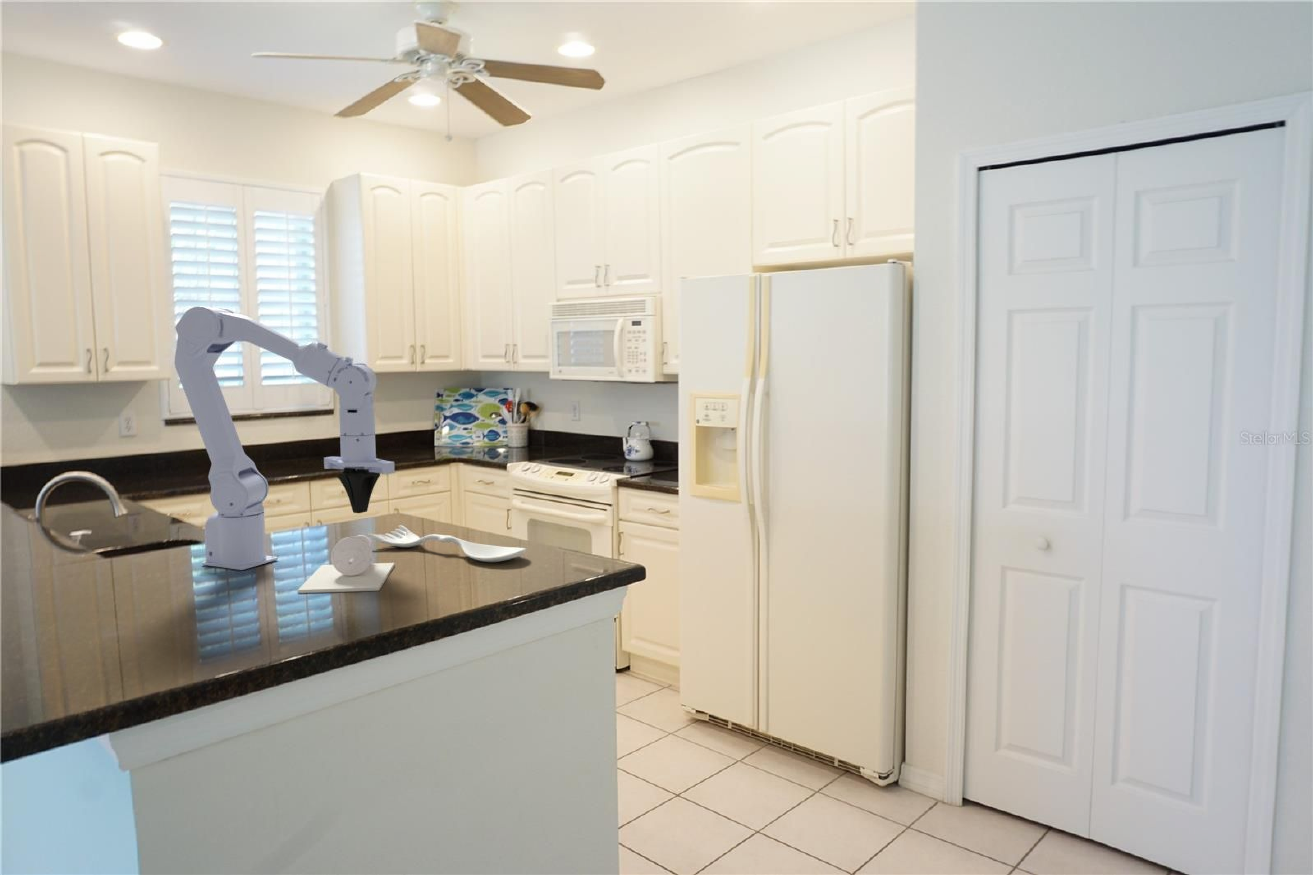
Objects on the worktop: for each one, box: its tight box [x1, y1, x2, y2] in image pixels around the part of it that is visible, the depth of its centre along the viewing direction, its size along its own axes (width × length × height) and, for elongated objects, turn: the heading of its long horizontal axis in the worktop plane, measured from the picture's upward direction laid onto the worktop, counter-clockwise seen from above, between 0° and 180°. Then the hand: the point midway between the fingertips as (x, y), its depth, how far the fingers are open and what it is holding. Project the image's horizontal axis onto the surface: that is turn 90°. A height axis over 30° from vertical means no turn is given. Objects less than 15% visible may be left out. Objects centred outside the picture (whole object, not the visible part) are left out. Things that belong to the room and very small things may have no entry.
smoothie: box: [330, 534, 374, 576], centre depth 142 cm, size 6×6×14 cm
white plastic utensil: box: [366, 524, 527, 563], centre depth 157 cm, size 9×32×4 cm, turn 63°
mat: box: [297, 562, 395, 594], centre depth 140 cm, size 15×12×1 cm
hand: (360, 512), depth 149 cm, fingers closed
